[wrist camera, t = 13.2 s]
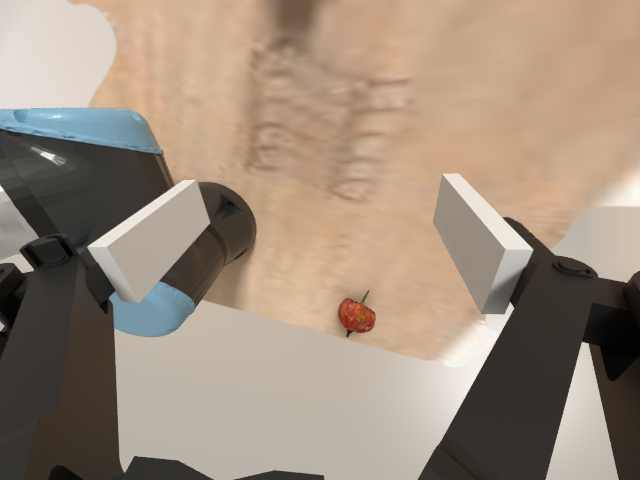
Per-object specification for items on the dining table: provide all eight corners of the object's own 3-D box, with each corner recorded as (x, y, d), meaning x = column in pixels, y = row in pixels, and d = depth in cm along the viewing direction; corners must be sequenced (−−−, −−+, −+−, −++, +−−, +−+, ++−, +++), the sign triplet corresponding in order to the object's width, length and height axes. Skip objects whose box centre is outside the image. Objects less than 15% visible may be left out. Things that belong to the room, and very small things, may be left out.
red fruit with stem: (348, 278, 56) (322, 320, 54) (366, 286, 49) (337, 335, 47) (373, 294, 58) (349, 335, 57) (394, 305, 51) (367, 352, 50)
